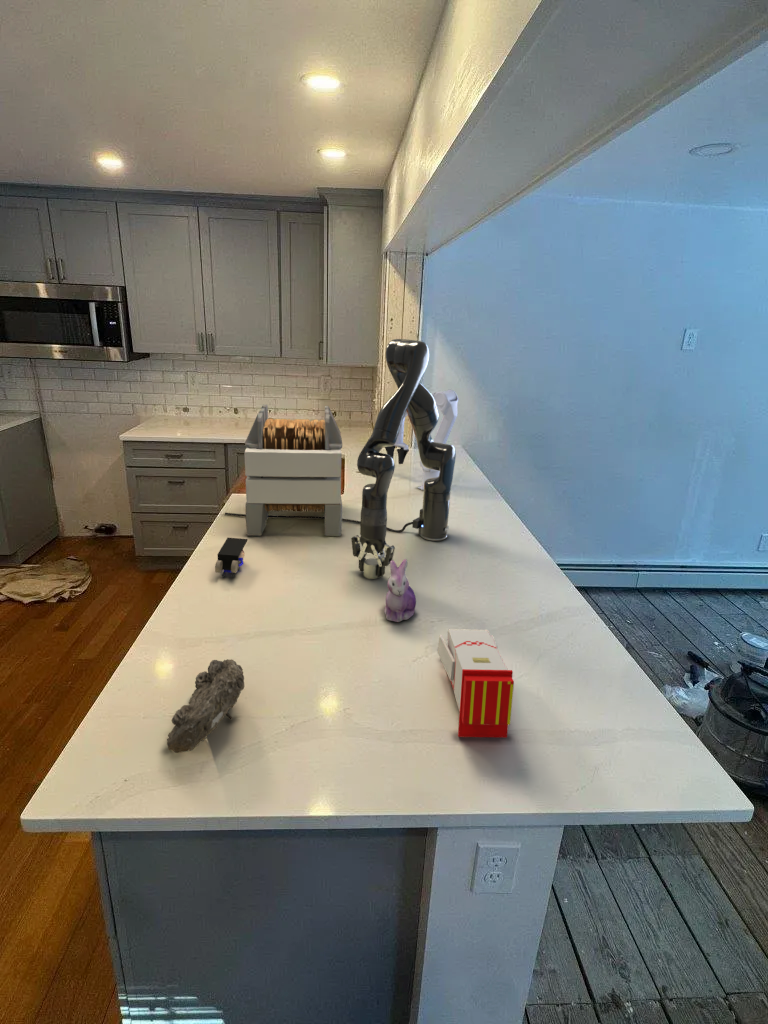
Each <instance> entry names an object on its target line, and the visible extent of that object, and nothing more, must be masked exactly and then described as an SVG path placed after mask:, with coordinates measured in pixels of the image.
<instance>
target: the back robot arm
mask: <svg viewBox="0 0 768 1024" xmlns="http://www.w3.org/2000/svg"><path fill="white" fill-rule="evenodd" d="M430 393H431V392H430ZM431 394H432V396H433V397H434V400H435V402H436V406H437V409H438V411H440V412H441V414H442V418H441V421H440V423H439V426H438V428H437V430H436V433H435V435H434V438H433V439H432V440H433V441H434V442H437V443H443V444H447V441H448V439H449V437H450V434H451V433H452V429H453V427H454V425H455V423H456V420H457V418H458V414H459V413H458V411H459V410H458V403H459V400H460V399H459V396H458V394H457V392H456V391H455V390H453V389H452V388H451V389H447V390H438V391H435V392H432V393H431ZM406 417H408V414H407V411H406V413H405V415H404V418H403V421H402V424H401V427H400V431H399V434H398V436H397V440H396V443H395V445H393V446H389V447H384V450H385V451H386V454H388V455H390V456H391V457H392V458H393V459H394V456H395V449H396V452H397V458H398V459H397V460H398V465H403V464H404V463H405V459H406V456H407V454H408V453H409V451H410V449H409V446H410V445H409V444H407V443H405V442H404V432H405V431H404V430H405V421H406ZM396 447H397V448H396ZM419 465H420V468H421V471H422V473H421V485H420V486H419V485H418V486H417V487H416V488H417V489H419V490H421V491H424V482H425V480H427V479H430V478H435V477H439V473H440V471H437V470H432V469H428V468H426V467H424V466H423V464H422V462H421V459H420V461H419Z"/></svg>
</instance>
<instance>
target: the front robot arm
mask: <svg viewBox="0 0 768 1024" xmlns="http://www.w3.org/2000/svg"><path fill="white" fill-rule="evenodd" d="M429 359H430V349H429V346H428V344H427V343H426V342H425V341H421V340H417V339H407V338H394V339H391V340H390V341H389V342H388V343H387V345H386V348H385V361H386V364H387V368H388V371H389V372H390V375H391V377H392V379H393V381H394V383H395V385H396V387H397V389H396V391H395V392H394V393H393V394H392V395H391V396H390V397H389V398H388V400H386V402H385V403H384V404H383V405H382V406H381V408H380V410H379V411H378V414H377V417H376V419H375V423H374V427H373V430H372V433H371V435H370V437H369V438H368V440H367V441H366V443H365V444H364V446H363V447H362V449H361V451H360V452H359V455H358V457H357V460H356V467H357V470H358V473H360V474H361V475H363V476H367V477H371V478H375V482H374V483H368V484H365V485H364V486H363V487H362V491H361V492H362V493H361V510H360V520H356V519H348V518H342V522H348V523H353V524H360V526H359V535H358V534H356V535H354V536H352V537H351V538H350V540H351V548H352V556H353V557H356V558H357V559H358V569H359V572H361V573H362V572H363V573H364V560H366V559H367V558H366V557H367V555H368V554H371V555H373V556H374V559H376V560H377V562H378V565H379V566H378V575H377V577H378V579H380V578H382V577H384V575H385V574H386V567H388V566H390V561H391V560H393V558H394V554H395V549H396V546H394V545H390V544H388V543H387V541H386V538H387V531H389V532H393V533H403V532H404V531H405V530H406V528H407V527H408V526H412V528H413V529H416V530H417V535H418V536H420V538H421V539H424V540H426V541H432V542H440V541H444V540H446V539H447V538H448V529H449V527H450V526H449V517H450V516H449V514H450V504H451V494H452V493H451V491H452V484H453V480H454V472H455V466H456V465H455V464H456V457H457V451H456V447H455V446H454V445H452V444H449V443H448V444H447V443H446V444H443V443H437V442H434V441H433V440H434V439H433V438H432V433H433V432H434V430H435V429H436V426H437V425H438V422H439V419H440V415H439V408H438V407H437V406H436V402H435V400H434V397H433V396H432V394H431V392H430V390H428V388H426V387H425V385H424V384H422V382H421V381H422V379H423V376H424V374H425V373H426V370H427V367H428V364H429ZM406 411H407V414H408V416H407V417H408V420H409V422H410V425H411V428H412V430H413V434H414V437H415V440H416V444H417V449H418V454H419V459H420V460H421V462H422V464H423V466H424V467H426V468H428V469H432V470H437V471H440V473H439V477H435V478H430V479H427V480H425V482H424V490H423V493H422V496H423V497H422V506H421V508H420V509H419V516H418V517H416V518H414V519H413V520H412V521H409V522H407V523H406V524H404V525H403V527H402V528H401V529H393V528H391V527H387V526H388V525H387V523H388V508H387V505H388V492H389V488H390V485H391V482H392V479H393V476H394V473H395V470H396V469H395V468H396V463H395V460H394V457H393V458H392V457H391V456H390V455H388V454H387V453H383V452H381V450H382V449H384V448H385V447H389V446H393V445H395V443H396V440H397V436H398V434H399V431H400V427H401V424H402V421H403V418H404V415H405V413H406ZM224 515H225V516H231V517H233V516H234V517H242V518H243V517H245V518H246V513H245V514H244V513H234V512H224ZM268 519H314V520H315V519H316V520H324V516H317V515H282V514H281V515H279V514H278V515H277V514H274V515H273V514H272V515H271V514H268ZM361 546H362V547H361Z"/></svg>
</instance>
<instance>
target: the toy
mask: <svg viewBox="0 0 768 1024" xmlns="http://www.w3.org/2000/svg"><path fill="white" fill-rule="evenodd" d="M446 640H447V643H446V641H445V639H444V636H443V635H442V634H439V637H438V646H437V656H438V657H439V659H440V661H441V663H442V666H443V668H444V670H445V672H446V674H447V677H448V679H449V681H450V684H451V687H452V690H453V693H454V697H455V701H456V705H457V708H458V711H459V714H458V715H459V716H458V730H457V731H458V732H457V737H458V738H508V731H509V726H510V725H511V717H512V707H513V697H514V696H513V695H514V684H515V680H514V679H513V673H514V671H513V670H512V669H508V667H507V665H506V662H505V661H504V659H503V658H502V655H501V653H500V651H499V649H498V647H497V643H496V639H495V637H494V635H493V634H491V632H490V631H489V629H467V628H466V629H465V628H463V629H461V628H460V629H459V628H448V630H447V639H446Z"/></svg>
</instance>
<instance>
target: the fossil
mask: <svg viewBox="0 0 768 1024" xmlns="http://www.w3.org/2000/svg"><path fill="white" fill-rule="evenodd" d="M243 670H244V669H243V667H242V665H240V664H237V662H236V661H235V660H234V659H232V658H231V659H227V658H226V659H224V660H223V661H222V660H217V659H212V660H211V661H210V663H209V665H208V666H207V671H201V672H199V673H198V674H197V675H196V676H195V680H194V684H195V685H194V687H195V689H194V690H193V693H192V694H191V697H190V698H189V700H188V704H184V705H182V706H181V707H180V709H177V710H176V711H175V713H174V715H173V716H172V718H171V723H172V724H173V727H172V730H171V731H170V732H168V734H167V738H166V741H167V742H166V745H167V749H168V750H169V751H173V752H174V753H176V754H178V753H182V752H188V751H189V752H192V751H193V750H195V748H196V747H197V746H199V744H200V743H201V742H203V741H204V740H205V739H206V738H207V737H208V736H209V735H210V734H211V733H212V732H214V730H215V729H217V727H218V726H219V724H220V722H221V721H222V720H223V719H224V718H225V716H226V717H227V719H229V720H233V717H232V715H230V714H229V710H230V709H231V708H234V706H235V704H236V703H237V702H238V699H239V697H240V695H241V693H242V691H243V690H245V689H244V688H245V675H244V671H243Z"/></svg>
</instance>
